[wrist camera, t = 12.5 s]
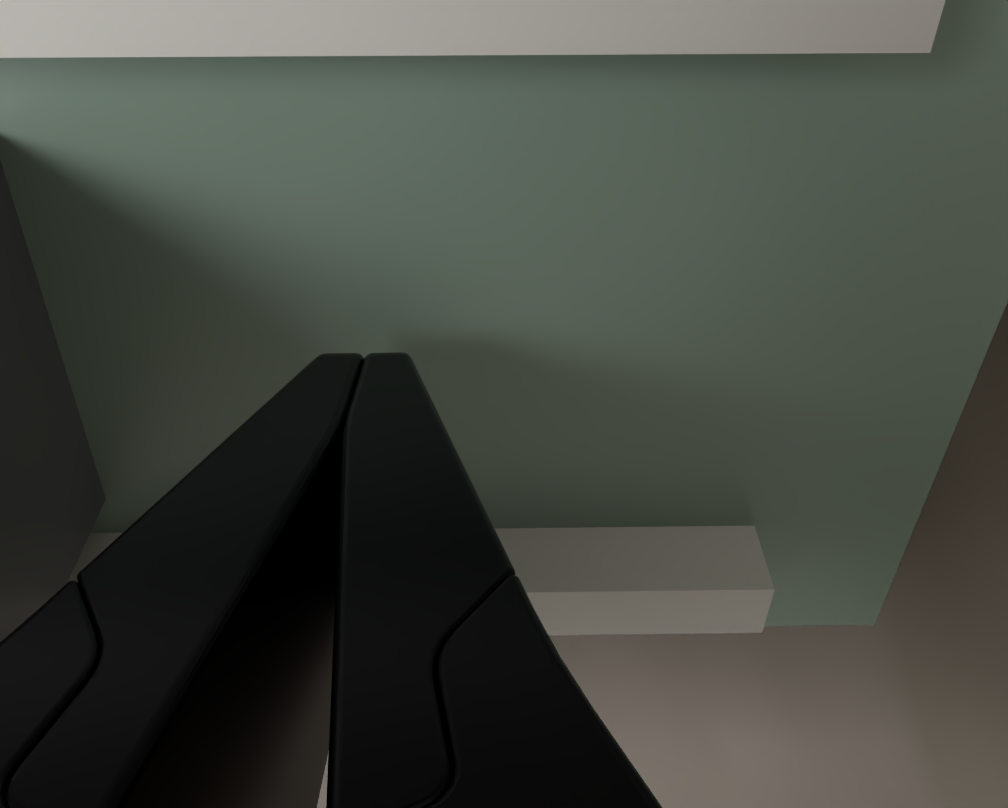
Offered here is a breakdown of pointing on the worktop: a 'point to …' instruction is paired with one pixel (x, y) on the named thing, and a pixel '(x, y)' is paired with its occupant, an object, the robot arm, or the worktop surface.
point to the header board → (541, 263)
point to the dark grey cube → (36, 442)
